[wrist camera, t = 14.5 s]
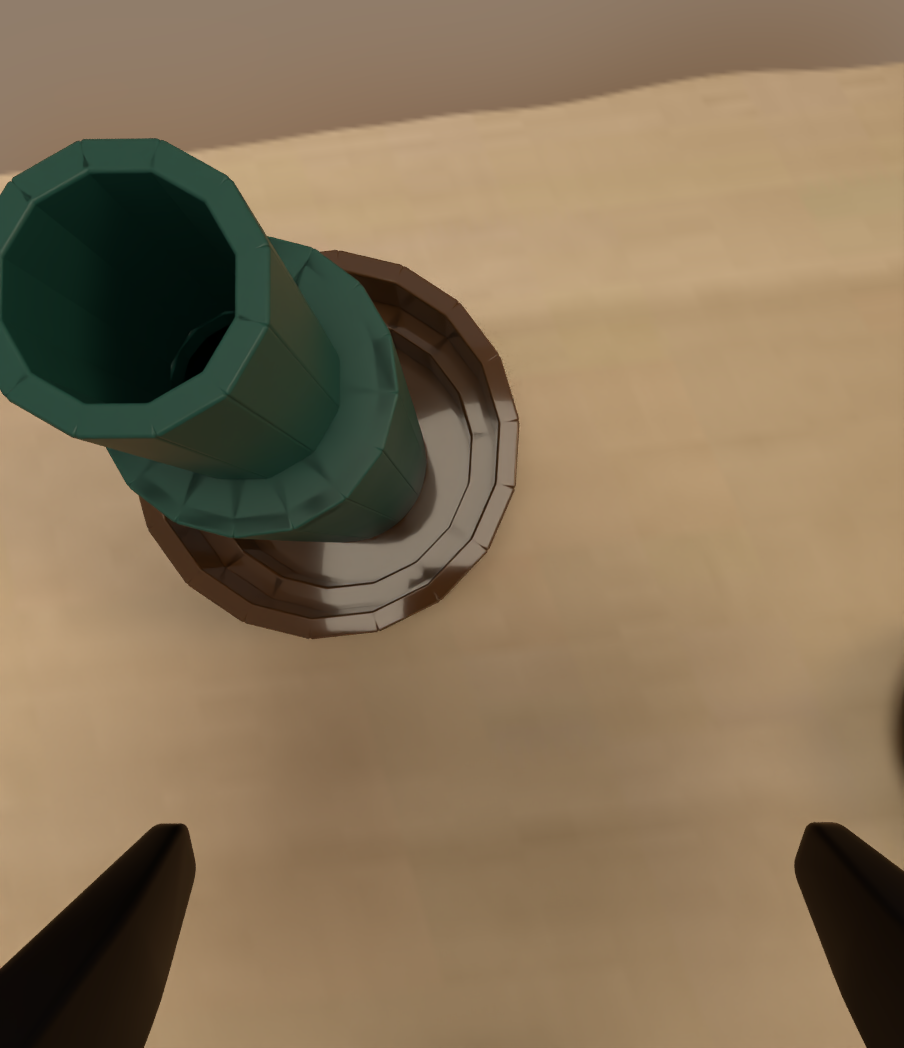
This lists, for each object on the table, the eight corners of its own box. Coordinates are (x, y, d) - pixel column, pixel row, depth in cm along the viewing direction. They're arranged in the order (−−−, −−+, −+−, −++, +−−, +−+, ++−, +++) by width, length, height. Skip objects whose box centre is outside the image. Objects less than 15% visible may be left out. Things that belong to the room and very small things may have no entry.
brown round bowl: (525, 600, 21) (541, 613, 17) (208, 635, 21) (147, 657, 17) (489, 292, 21) (497, 230, 17) (179, 327, 22) (111, 274, 17)
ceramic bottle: (455, 490, 21) (449, 370, 7) (318, 570, 21) (20, 620, 7) (376, 356, 21) (208, -37, 7) (240, 435, 21) (-209, 202, 7)
